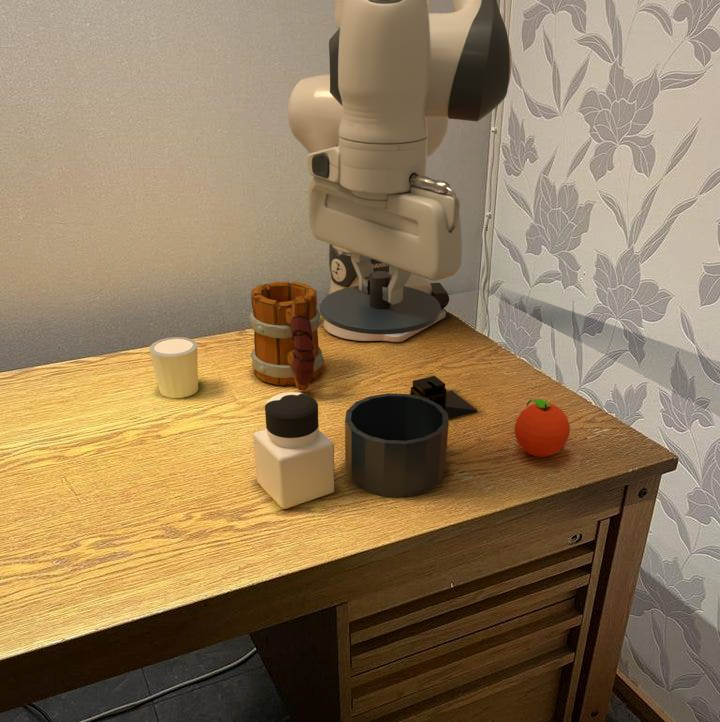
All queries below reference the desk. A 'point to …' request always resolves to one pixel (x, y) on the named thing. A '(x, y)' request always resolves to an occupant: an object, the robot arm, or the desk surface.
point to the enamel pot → (396, 444)
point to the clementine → (542, 429)
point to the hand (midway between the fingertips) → (380, 297)
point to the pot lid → (379, 309)
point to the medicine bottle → (293, 451)
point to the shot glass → (175, 366)
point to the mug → (286, 334)
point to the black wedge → (442, 397)
